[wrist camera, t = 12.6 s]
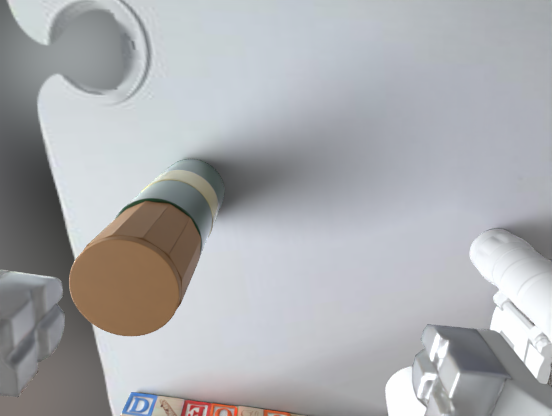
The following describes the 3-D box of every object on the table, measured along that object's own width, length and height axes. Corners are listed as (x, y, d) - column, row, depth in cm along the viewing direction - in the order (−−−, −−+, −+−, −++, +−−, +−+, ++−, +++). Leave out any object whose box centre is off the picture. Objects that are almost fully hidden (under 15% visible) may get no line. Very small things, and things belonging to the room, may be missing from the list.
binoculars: (469, 225, 39) (618, 346, 22) (526, 223, 39) (720, 344, 22) (449, 371, 44) (556, 558, 27) (499, 369, 44) (637, 556, 27)
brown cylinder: (113, 196, 26) (66, 233, 20) (203, 207, 26) (182, 246, 20) (113, 276, 27) (70, 330, 22) (197, 285, 28) (176, 342, 22)
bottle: (161, 154, 37) (70, 220, 21) (227, 162, 37) (189, 234, 21) (159, 216, 39) (74, 320, 23) (222, 224, 39) (183, 332, 23)
